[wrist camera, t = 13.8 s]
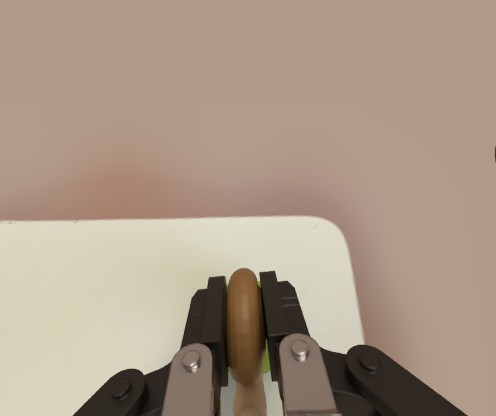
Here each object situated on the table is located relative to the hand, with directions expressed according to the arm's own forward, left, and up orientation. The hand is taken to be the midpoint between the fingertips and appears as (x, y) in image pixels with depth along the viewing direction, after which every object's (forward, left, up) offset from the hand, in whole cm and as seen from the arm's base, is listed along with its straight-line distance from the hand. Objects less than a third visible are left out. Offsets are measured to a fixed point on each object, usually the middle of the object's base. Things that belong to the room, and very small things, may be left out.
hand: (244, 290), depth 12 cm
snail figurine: (0, +2, -8) cm, 8 cm away
